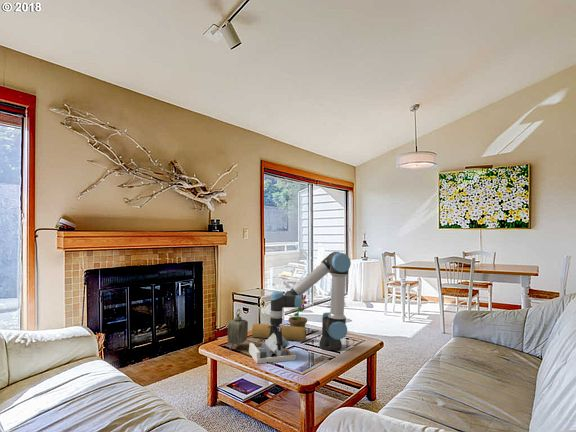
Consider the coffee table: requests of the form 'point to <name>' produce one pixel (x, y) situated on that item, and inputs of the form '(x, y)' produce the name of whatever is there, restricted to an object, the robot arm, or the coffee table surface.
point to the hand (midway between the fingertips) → (275, 351)
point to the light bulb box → (272, 343)
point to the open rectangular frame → (256, 356)
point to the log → (287, 332)
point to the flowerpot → (298, 320)
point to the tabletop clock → (237, 331)
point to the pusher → (265, 350)
